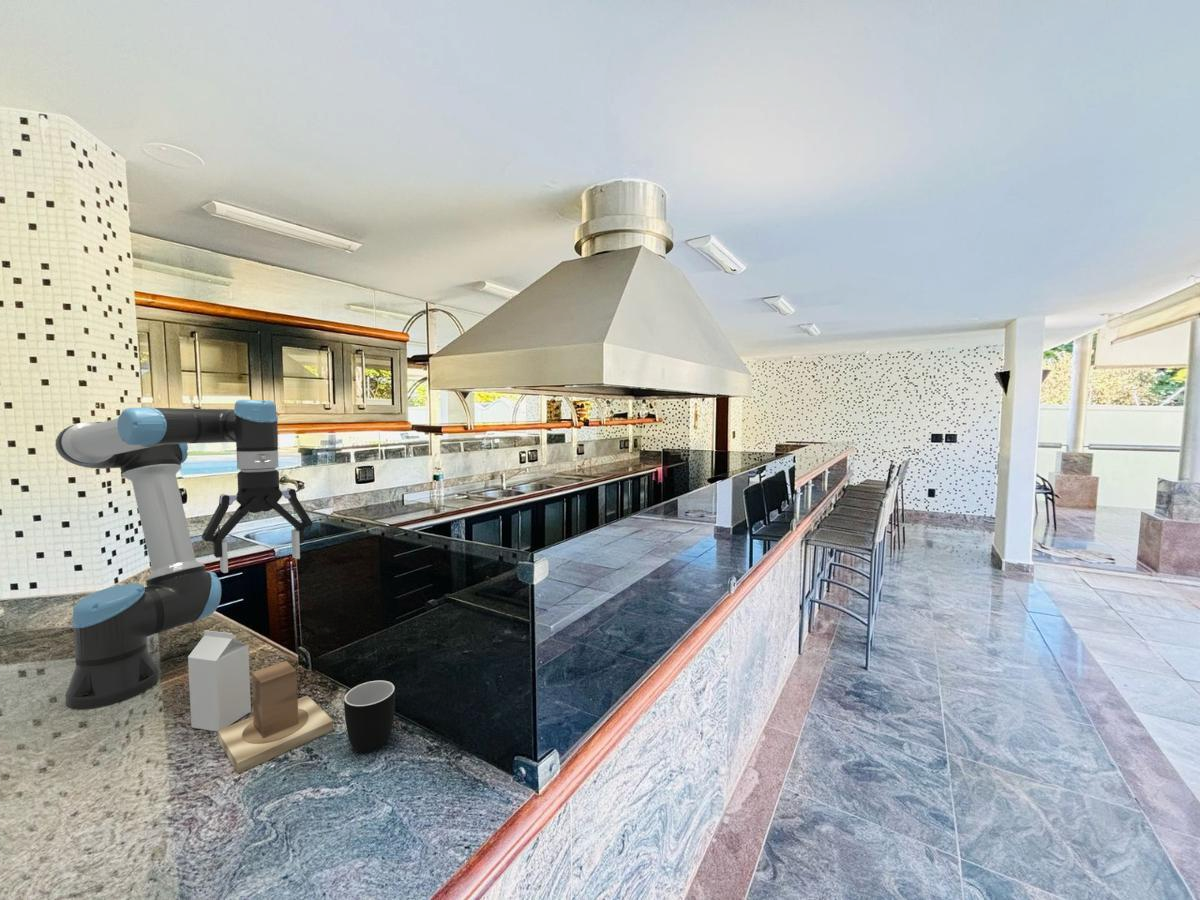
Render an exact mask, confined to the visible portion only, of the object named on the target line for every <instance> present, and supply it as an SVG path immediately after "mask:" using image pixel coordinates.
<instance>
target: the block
mask: <svg viewBox="0 0 1200 900" xmlns="http://www.w3.org/2000/svg"><path fill="white" fill-rule="evenodd" d="M251 688H252V689H251V690H252V691H251V692H252V693H251V694H252V717H253V719H254V727H255V728H256V729H257V731H258V732H259V733H260V735H261V736H262V737H263V738H266V737H268V736H270V735H273V734H275V733H277V732H280V731H282V730H284V729H287V728H289V727H291V726H294V725H296V724H298V699H299V698H298V672H297V669H296V668H295V667H294V666H293V665H291V663H289V662H288V660H284V661H281V662H278V663H275V664H272V665H269V666H265V667H263V668H259V669H257V670H254V671H251Z"/></svg>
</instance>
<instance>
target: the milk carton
mask: <svg viewBox="0 0 1200 900" xmlns="http://www.w3.org/2000/svg"><path fill="white" fill-rule="evenodd" d="M235 638H236V635H235V634H233V633H232V632H224V631H215V630H208V629H207V630H206V629H204V630H203V636H202V638H201V639H200V640H199V641H198V643H197V644H196V646H195V647H194V649H192V651H191V652H190V654H188V656H187V663H188V664H187V667H188V683H189V684H188V685H189V705H190V707H189V708H190V709H189V710H190V724H191V725H190V726H191V728H193V729H198V730H204V731H210V732H215V733H216V732H217V733H218V731H217V730H220V729H222V728H225V727H228V726H230V725H233V724H235V722H236V721H239V720H240V719H242V718H243V717H244V716H246V715H247V714H249V713H251V711H252V706H251V705H252V704H251V701H252V700H251V681H250V677H251V676H250V657H249V656H250V650H249V644H248V643H245V642H242V641H241V640H238V639H235Z"/></svg>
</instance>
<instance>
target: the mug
mask: <svg viewBox="0 0 1200 900" xmlns="http://www.w3.org/2000/svg"><path fill="white" fill-rule="evenodd" d="M395 689H396V688H395V685H394V684H393V683H392V682H391V681H387V680H373V681H372V680H371V681H366V682H364V683H361V684H358V685H356V686H354V687H352V688H351V689H349V690H348V692H347V693H346V694H345V696H344V697H343V706H344V720H345V725H346V731H347V737H348V741H349V743H350V746H351V747H352V749H353V750H354V751H355V752H356V753H362V754H367V753H371V752H375V751H377V750H379V749H381V748H383V747H384V746H385V745H386V744H387V743H388V741H389V739H390V738H391V735H392V731H393V730H392V729H393V725H394V717H395V707H396V705H395V704H396V690H395Z"/></svg>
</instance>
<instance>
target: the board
mask: <svg viewBox="0 0 1200 900" xmlns="http://www.w3.org/2000/svg"><path fill="white" fill-rule="evenodd" d="M334 726H335V725H334V719H332V717H330V716H329V714H327V713H326V712H325V711H324V710H323V709H322V708H321V707H320V706H319V705H318V704H317V703H316V702H315V701H314V700H313V699H312V698H311V697H310V696H309V695H305V696H302V697H300V698H298V724H296V725H294V726H291V727H289V728H287V729H284V730H282V731H280V732H277V733H275V734H273V735H270V736H268V737H266V738H263V737H262V736H261V735H260V733H259V732H258V731H257V729H256V728H255V727H254V719H253V716H251V717H248V718H245V719H243V720H240V721H239V722H236V723H235V722H234V723H232V724H231V725H229V726H228V727H225V728H222V729H220V730H217V731H218V732H217V741H218V743H219V745H220V746H221V748H222V750H223V751H224V753H225V754H226V756H227V758H228V760H229V761H230V763H231V765H232V766H233V768H234V770H235V771H236V773H237V774H238V775H239V774H240V773H243V772H246V771H248V770H249V769H252V768H254V767H257V766H258V765H261V764H263V763H265V762H267V761H269V760H271V759H274V758H276V757H278V756H281V755H282V754H283V755H284V754H285V753H288V752H290V751H291V750H293V749H296V748H297V747H300V746H302V745H305V744H306V743H309V742H310V741H312V740H315V739H317V738H319V737H322V736H323V735H326V734H328V733H330V732H333V731H334V728H335V727H334Z"/></svg>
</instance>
